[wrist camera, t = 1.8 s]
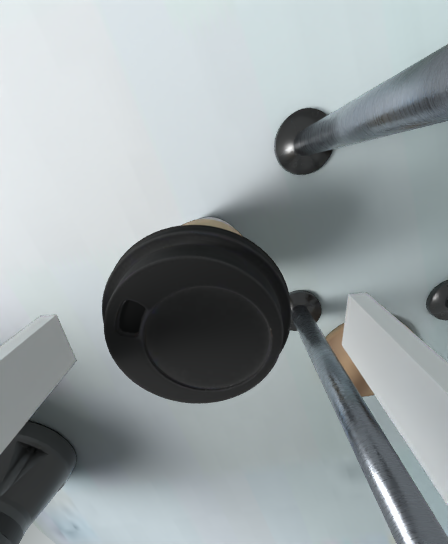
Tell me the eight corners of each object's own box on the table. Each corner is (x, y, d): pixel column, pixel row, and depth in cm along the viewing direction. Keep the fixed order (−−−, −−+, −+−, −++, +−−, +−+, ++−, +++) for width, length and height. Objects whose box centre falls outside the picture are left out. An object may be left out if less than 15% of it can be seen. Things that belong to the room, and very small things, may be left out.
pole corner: (276, 329, 28) (374, 627, 10) (275, 292, 26) (397, 575, 8) (318, 326, 28) (501, 624, 9) (321, 288, 26) (558, 570, 7)
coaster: (313, 392, 32) (315, 399, 31) (318, 319, 27) (322, 324, 26) (403, 387, 31) (408, 393, 31) (423, 311, 27) (431, 316, 26)
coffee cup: (157, 203, 23) (49, 248, 9) (255, 193, 22) (305, 222, 8) (175, 290, 26) (118, 420, 12) (259, 282, 26) (299, 408, 12)
